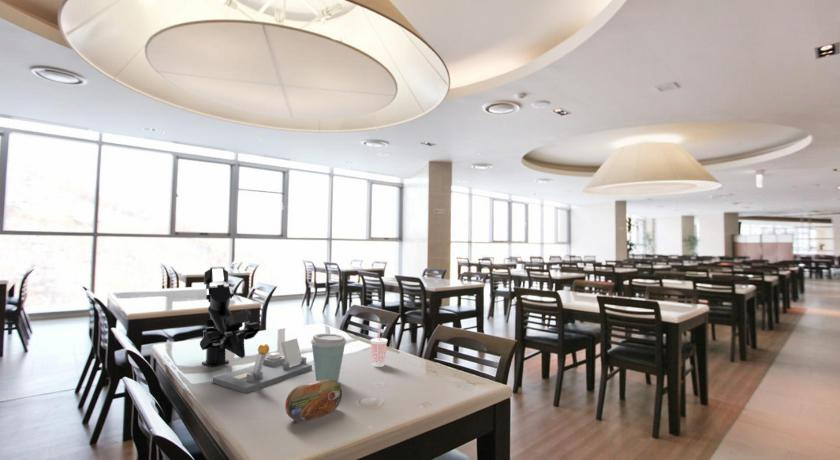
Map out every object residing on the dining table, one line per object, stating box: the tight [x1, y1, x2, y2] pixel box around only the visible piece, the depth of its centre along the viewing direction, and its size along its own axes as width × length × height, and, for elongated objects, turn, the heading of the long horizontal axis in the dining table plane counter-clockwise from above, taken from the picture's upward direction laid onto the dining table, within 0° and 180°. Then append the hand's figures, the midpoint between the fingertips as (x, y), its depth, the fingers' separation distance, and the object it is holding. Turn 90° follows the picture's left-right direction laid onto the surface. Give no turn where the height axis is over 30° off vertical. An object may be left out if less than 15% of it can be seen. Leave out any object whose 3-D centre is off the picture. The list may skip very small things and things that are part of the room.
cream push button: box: [268, 352, 281, 361], centre depth 140 cm, size 4×4×2 cm
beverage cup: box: [370, 325, 388, 368], centre depth 146 cm, size 6×6×14 cm
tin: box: [284, 379, 343, 423], centre depth 103 cm, size 15×3×8 cm, turn 134°
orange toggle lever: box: [252, 343, 270, 379], centre depth 123 cm, size 3×3×11 cm
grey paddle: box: [280, 338, 303, 365], centre depth 139 cm, size 1×6×8 cm, turn 150°
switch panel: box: [212, 355, 313, 394], centre depth 132 cm, size 16×26×4 cm, turn 150°
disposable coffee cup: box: [310, 333, 347, 383], centre depth 126 cm, size 11×11×15 cm
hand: (243, 357), depth 127 cm, fingers closed
